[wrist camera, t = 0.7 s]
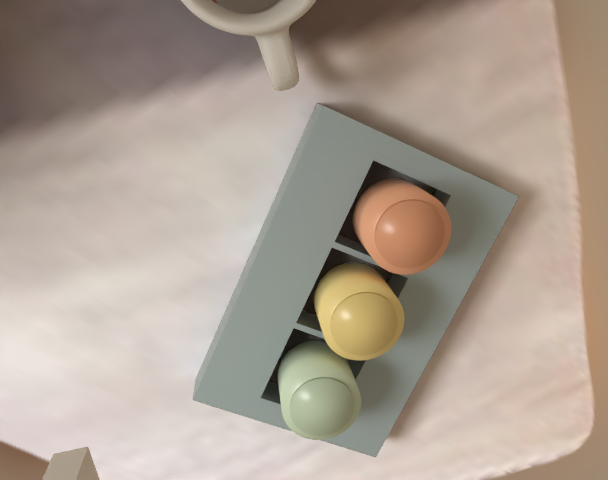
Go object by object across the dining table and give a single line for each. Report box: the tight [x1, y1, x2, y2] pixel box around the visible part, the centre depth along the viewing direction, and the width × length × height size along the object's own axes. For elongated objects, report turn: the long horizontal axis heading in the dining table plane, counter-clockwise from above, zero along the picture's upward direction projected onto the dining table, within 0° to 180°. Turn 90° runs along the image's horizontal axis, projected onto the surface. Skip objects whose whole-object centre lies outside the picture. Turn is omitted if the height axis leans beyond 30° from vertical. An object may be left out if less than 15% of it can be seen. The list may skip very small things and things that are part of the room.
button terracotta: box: [353, 178, 451, 275], centre depth 33 cm, size 5×5×4 cm
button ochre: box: [314, 262, 404, 361], centre depth 34 cm, size 5×5×4 cm
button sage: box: [277, 341, 361, 440], centre depth 35 cm, size 5×5×4 cm
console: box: [193, 103, 519, 457], centre depth 37 cm, size 14×21×3 cm, turn 156°
